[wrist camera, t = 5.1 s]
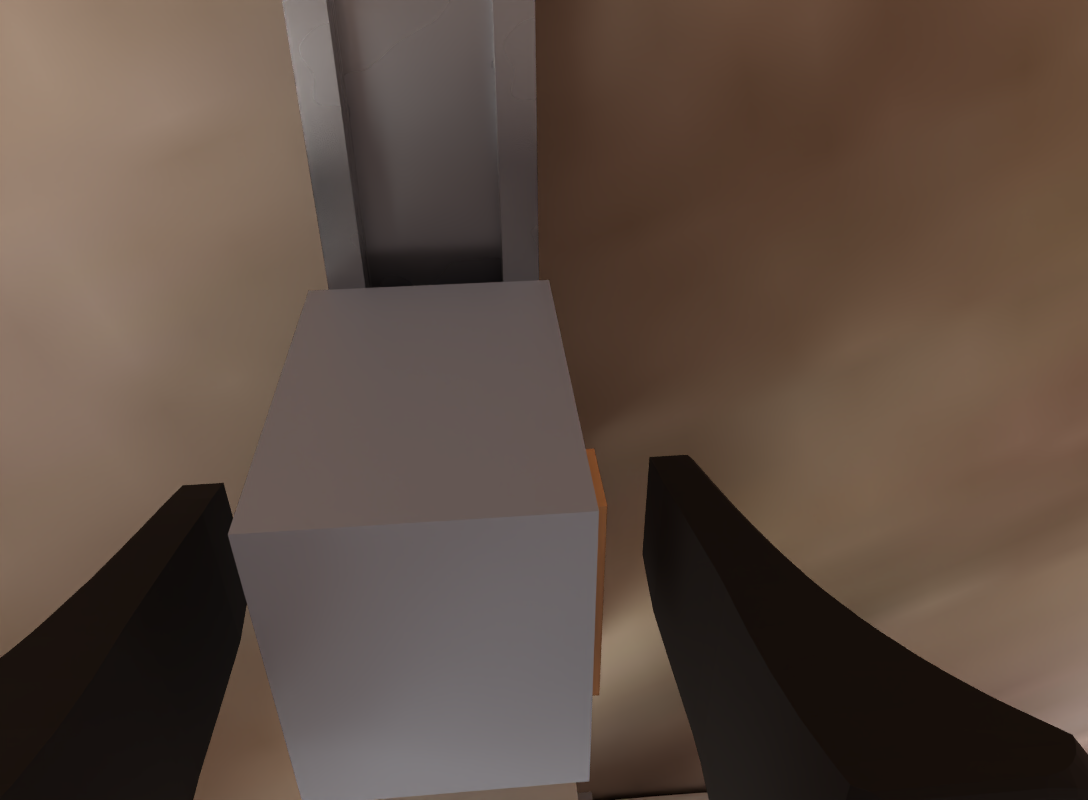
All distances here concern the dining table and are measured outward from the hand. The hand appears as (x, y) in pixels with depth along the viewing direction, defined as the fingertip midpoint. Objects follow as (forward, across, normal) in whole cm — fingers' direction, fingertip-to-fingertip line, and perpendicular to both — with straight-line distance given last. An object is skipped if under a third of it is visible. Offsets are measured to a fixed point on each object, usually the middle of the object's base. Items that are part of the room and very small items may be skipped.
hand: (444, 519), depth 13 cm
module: (+3, 0, 0) cm, 3 cm away
